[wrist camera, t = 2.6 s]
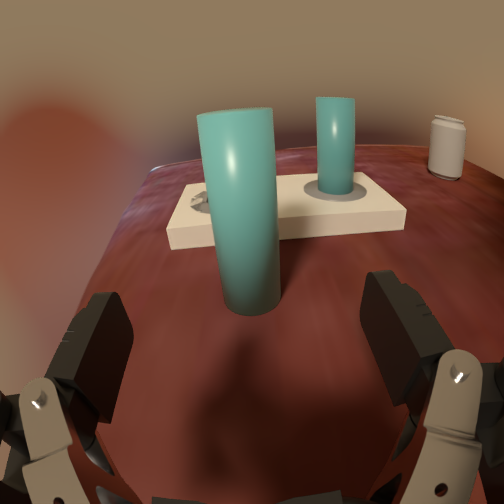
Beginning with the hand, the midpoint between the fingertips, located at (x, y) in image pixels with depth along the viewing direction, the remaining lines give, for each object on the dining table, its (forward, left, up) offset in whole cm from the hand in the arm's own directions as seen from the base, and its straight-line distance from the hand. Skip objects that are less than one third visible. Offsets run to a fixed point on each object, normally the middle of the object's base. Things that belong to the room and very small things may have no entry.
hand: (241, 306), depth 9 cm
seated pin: (-23, -17, -9) cm, 31 cm away
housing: (-18, -21, -9) cm, 29 cm away
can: (-55, -15, -9) cm, 58 cm away
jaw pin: (-6, -10, -9) cm, 15 cm away
